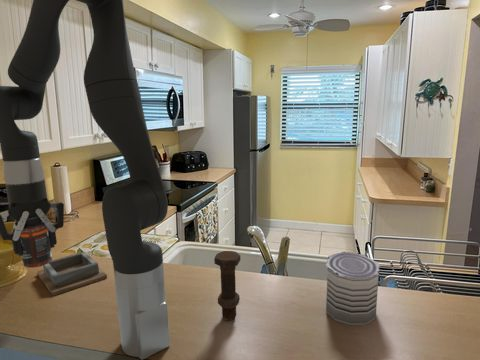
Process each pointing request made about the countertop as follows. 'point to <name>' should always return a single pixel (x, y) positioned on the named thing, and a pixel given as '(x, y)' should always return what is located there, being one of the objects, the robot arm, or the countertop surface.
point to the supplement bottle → (35, 243)
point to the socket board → (70, 273)
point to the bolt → (228, 283)
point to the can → (352, 288)
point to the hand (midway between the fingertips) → (36, 250)
